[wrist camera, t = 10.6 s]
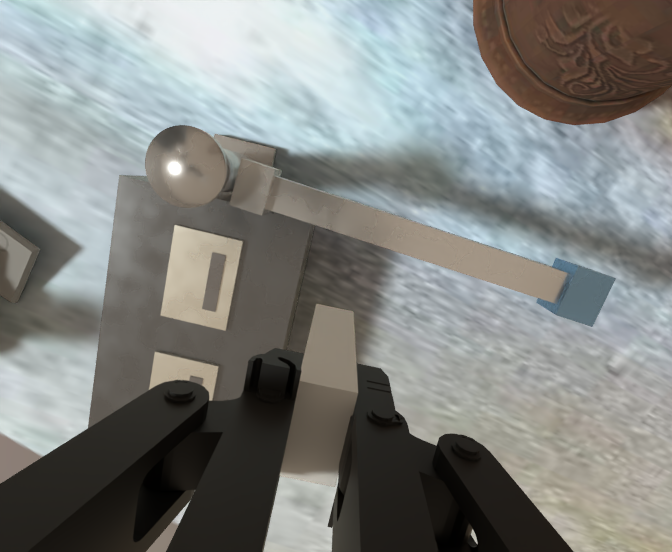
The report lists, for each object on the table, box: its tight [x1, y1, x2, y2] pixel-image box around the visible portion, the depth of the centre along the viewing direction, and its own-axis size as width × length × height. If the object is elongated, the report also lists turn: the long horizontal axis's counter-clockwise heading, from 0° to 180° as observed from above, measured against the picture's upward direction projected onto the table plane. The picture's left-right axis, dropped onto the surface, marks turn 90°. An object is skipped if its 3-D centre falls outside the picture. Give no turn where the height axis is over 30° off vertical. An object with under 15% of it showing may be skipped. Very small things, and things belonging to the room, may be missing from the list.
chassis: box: [88, 175, 315, 428], centre depth 36 cm, size 22×14×6 cm, turn 167°
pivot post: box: [145, 125, 277, 208], centre depth 30 cm, size 5×5×13 cm
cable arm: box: [229, 158, 616, 327], centre depth 27 cm, size 23×3×3 cm, turn 72°
